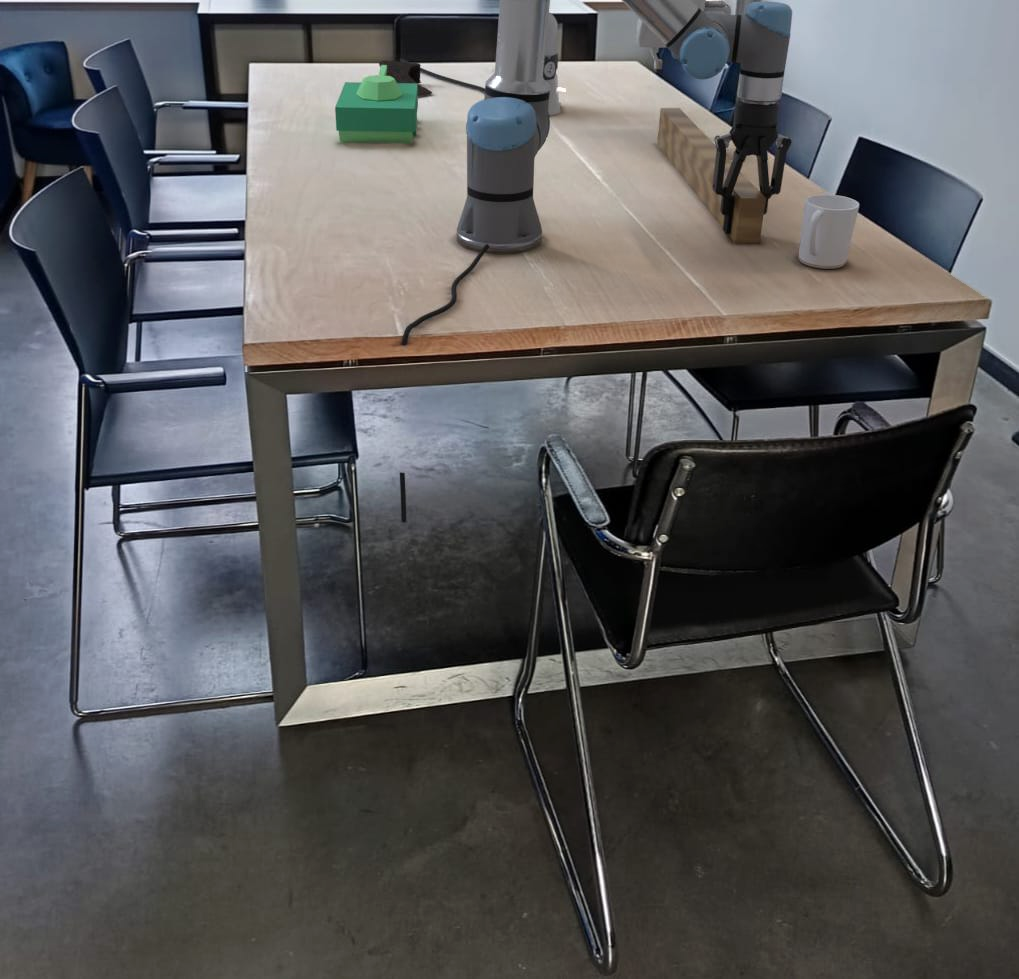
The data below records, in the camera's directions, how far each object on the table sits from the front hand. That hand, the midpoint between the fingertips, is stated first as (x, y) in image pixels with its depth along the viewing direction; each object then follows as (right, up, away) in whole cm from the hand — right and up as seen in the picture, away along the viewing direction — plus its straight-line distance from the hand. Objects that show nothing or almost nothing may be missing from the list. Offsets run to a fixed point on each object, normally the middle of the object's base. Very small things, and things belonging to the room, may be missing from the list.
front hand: (740, 231), depth 201 cm
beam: (-3, +15, +26) cm, 30 cm away
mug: (+11, -8, -12) cm, 18 cm away
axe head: (-72, +62, +99) cm, 137 cm away
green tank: (-74, +40, +63) cm, 105 cm away
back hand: (-5, +46, +42) cm, 63 cm away
